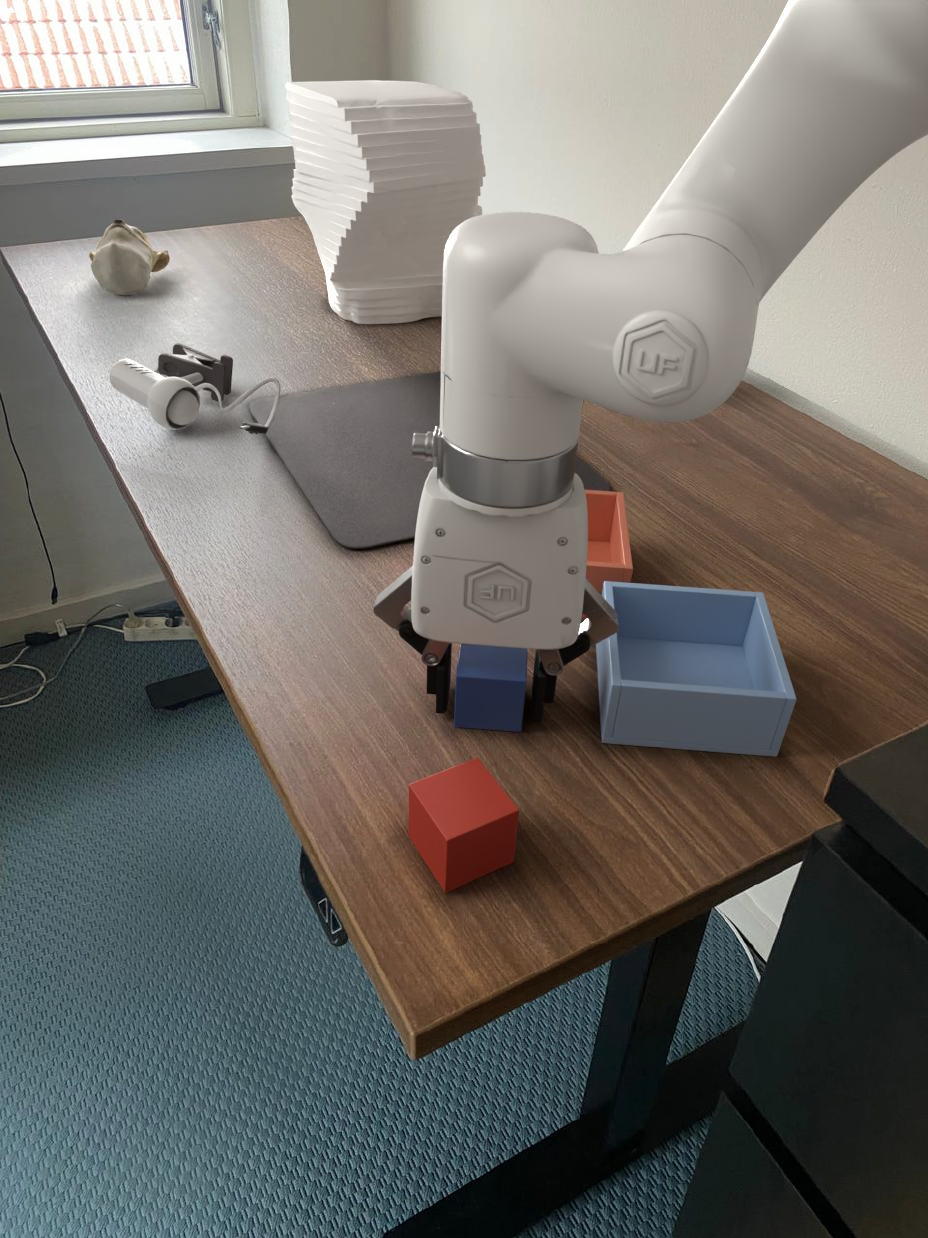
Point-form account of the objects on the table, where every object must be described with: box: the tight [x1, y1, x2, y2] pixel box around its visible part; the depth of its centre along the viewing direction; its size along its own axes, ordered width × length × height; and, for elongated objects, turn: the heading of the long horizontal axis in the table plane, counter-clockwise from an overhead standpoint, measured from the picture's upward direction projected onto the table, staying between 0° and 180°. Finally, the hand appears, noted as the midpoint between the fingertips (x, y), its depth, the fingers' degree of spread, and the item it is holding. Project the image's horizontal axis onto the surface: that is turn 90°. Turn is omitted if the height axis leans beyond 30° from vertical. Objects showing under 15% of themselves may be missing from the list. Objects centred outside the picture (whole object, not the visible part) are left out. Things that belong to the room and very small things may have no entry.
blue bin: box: [595, 581, 797, 758], centre depth 62 cm, size 11×11×5 cm
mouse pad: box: [248, 370, 611, 550], centre depth 91 cm, size 32×27×1 cm
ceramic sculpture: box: [88, 218, 171, 296], centre depth 125 cm, size 11×9×15 cm
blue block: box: [453, 643, 528, 733], centre depth 61 cm, size 4×4×4 cm
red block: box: [408, 757, 520, 893], centre depth 51 cm, size 4×4×4 cm
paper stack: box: [284, 79, 487, 325], centre depth 115 cm, size 21×27×26 cm
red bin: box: [581, 490, 634, 621], centre depth 73 cm, size 11×11×5 cm
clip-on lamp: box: [108, 342, 281, 435], centre depth 93 cm, size 12×6×18 cm
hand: (489, 701), depth 62 cm, fingers open, 5 cm apart
